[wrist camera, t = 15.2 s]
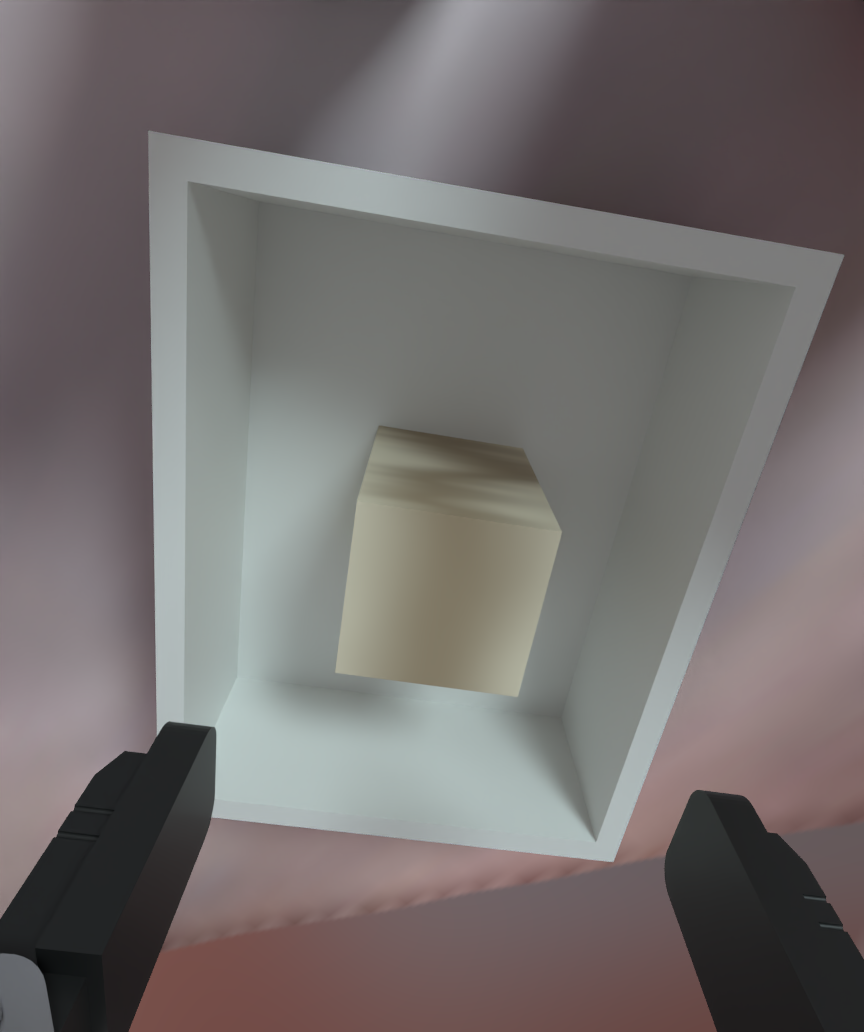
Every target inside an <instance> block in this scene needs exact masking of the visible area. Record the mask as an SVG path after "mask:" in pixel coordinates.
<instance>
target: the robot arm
mask: <svg viewBox="0 0 864 1032" xmlns="http://www.w3.org/2000/svg"><path fill="white" fill-rule="evenodd" d="M215 774H216V729H215V727H210V726H203V725H195V724H187V723H179V722H171V721H169V722H167V723H165V725H164V726H163V727H162V729H161V730H160V732H159V734H158V736H157V737H156V739H155V741H154V743H153V744H152V746H151V748H150V749H149V751H148V753H147V754H144V753H136V752H128V751H124V752H123V753H122V754H121V755H119V756H118V757H117V758H115V759H114V760H113V761H112V762H110V763H109V764H108V765H107V766H105V767H104V768H103V769H102V770H100V771H99V772H98V773H97V774H95V775H94V777H93V778H92V780H91V781H90V783H89V784H88V786H87V787H86V789H85V791H84V792H83V794H82V795H81V797H80V798H79V800H78V801H77V803H76V804H75V808H74V810H73V811H71V812H70V813H69V815H68V817H67V818H66V820H65V821H64V823H63V824H62V826H61V827H60V829H59V830H58V834H57V837H56V838H55V837H54V838H53V839H52V841H51V843H50V844H49V846H48V847H47V849H46V850H45V852H44V853H43V855H42V856H41V858H40V859H39V861H38V862H37V864H36V865H35V867H34V868H33V870H32V872H31V873H30V875H29V876H28V878H27V879H26V881H25V882H24V884H23V885H22V887H21V888H20V890H19V891H18V893H17V894H16V896H15V898H14V899H13V901H12V902H11V904H10V905H9V907H8V908H7V910H6V911H5V913H4V914H3V916H2V917H1V919H0V1032H128V1031H129V1029H130V1026H131V1023H132V1021H133V1019H134V1016H135V1014H136V1011H137V1009H138V1006H139V1003H140V1001H141V998H142V996H143V993H144V991H145V988H146V986H147V983H148V981H149V978H150V976H151V973H152V971H153V968H154V966H155V963H156V961H157V958H158V956H159V953H160V950H161V948H162V945H163V943H164V940H165V938H166V935H167V933H168V930H169V928H170V925H171V923H172V920H173V918H174V915H175V913H176V910H177V908H178V905H179V903H180V900H181V897H182V895H183V892H184V890H185V887H186V885H187V882H188V880H189V877H190V875H191V872H192V870H193V867H194V865H195V862H196V860H197V857H198V855H199V852H200V850H201V847H202V845H203V842H204V839H205V837H206V834H207V831H208V828H209V824H210V820H211V816H212V812H213V806H214V799H215ZM665 882H666V887H667V892H668V895H669V898H670V901H671V903H672V906H673V909H674V912H675V915H676V917H677V920H678V923H679V926H680V929H681V931H682V934H683V937H684V940H685V943H686V946H687V948H688V951H689V954H690V957H691V959H692V962H693V965H694V968H695V970H696V974H697V976H698V979H699V982H700V985H701V988H702V990H703V993H704V996H705V999H706V1001H707V1004H708V1007H709V1010H710V1013H711V1016H712V1018H713V1021H714V1024H715V1027H716V1029H717V1032H864V959H863V958H862V956H861V954H860V952H859V951H858V949H857V947H856V946H855V944H854V942H853V941H852V939H851V938H850V936H849V934H848V932H844V931H843V928H842V927H843V924H842V923H841V921H840V919H839V917H838V916H837V914H836V912H835V911H834V909H833V907H832V906H831V904H830V903H827V902H826V896H825V894H824V892H823V891H822V889H821V888H820V886H819V884H818V882H817V881H816V879H815V878H814V876H813V874H812V872H811V871H810V869H809V867H808V866H807V864H806V863H805V862H804V861H803V860H802V859H801V858H800V857H799V856H798V855H797V853H796V852H795V851H794V850H793V849H792V848H791V847H790V846H789V845H788V844H787V843H786V842H785V841H784V840H783V839H782V838H781V837H780V836H779V835H778V834H776V833H768V832H767V831H766V829H765V827H764V825H763V824H762V822H761V820H760V818H759V816H758V815H757V813H756V811H755V809H754V808H753V806H752V804H751V803H750V802H749V800H748V799H747V798H745V797H744V796H741V795H734V794H726V793H718V792H710V791H703V790H697V791H695V792H693V793H692V795H691V796H690V798H689V801H688V803H687V805H686V808H685V810H684V812H683V815H682V817H681V819H680V822H679V824H678V827H677V829H676V831H675V834H674V836H673V838H672V841H671V843H670V845H669V848H668V850H667V853H666V858H665Z"/></svg>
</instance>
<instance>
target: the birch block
mask: <svg viewBox="0 0 864 1032" xmlns="http://www.w3.org/2000/svg"><path fill="white" fill-rule="evenodd" d="M561 535H562V531H561V529H560V526H559V524H558V522H557V520H556V518H555V516H554V514H553V511H552V509H551V507H550V505H549V503H548V501H547V499H546V497H545V494H544V492H543V490H542V488H541V486H540V484H539V482H538V480H537V477H536V475H535V473H534V471H533V469H532V467H531V465H530V462H529V460H528V458H527V456H526V454H525V452H524V450H523V448H517V447H511V446H505V445H499V444H492V443H486V442H480V441H474V440H467V439H461V438H455V437H449V436H442V435H436V434H430V433H424V432H417V431H411V430H405V429H398V428H392V427H386V426H380V425H379V427H378V430H377V434H376V437H375V441H374V444H373V447H372V451H371V454H370V458H369V461H368V465H367V468H366V471H365V475H364V478H363V482H362V485H361V489H360V492H359V495H358V499H357V504H356V512H355V520H354V528H353V535H352V543H351V551H350V559H349V567H348V575H347V582H346V590H345V598H344V606H343V614H342V622H341V629H340V637H339V645H338V653H337V661H336V669H335V673H341V674H348V675H356V676H363V677H371V678H378V679H386V680H393V681H401V682H408V683H416V684H423V685H431V686H438V687H446V688H453V689H461V690H469V691H476V692H484V693H491V694H499V695H506V696H514V697H518V694H519V691H520V687H521V683H522V679H523V676H524V672H525V668H526V665H527V661H528V657H529V653H530V650H531V646H532V642H533V639H534V635H535V631H536V627H537V624H538V620H539V616H540V613H541V609H542V605H543V601H544V598H545V594H546V590H547V587H548V583H549V579H550V575H551V572H552V568H553V564H554V561H555V557H556V553H557V549H558V546H559V542H560V538H561Z"/></svg>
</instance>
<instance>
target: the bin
mask: <svg viewBox="0 0 864 1032" xmlns="http://www.w3.org/2000/svg"><path fill="white" fill-rule="evenodd" d="M148 166H149V233H150V301H151V369H152V437H153V505H154V572H155V640H156V708H157V736H158V734H159V732H160V730H161V729H162V727H163V726H164V725H165V723H167V722H169V721H171V722H179V723H187V724H195V725H203V726H210V727H215V729H216V774H215V799H214V806H213V812H212V816H211V817H213V818H222V819H231V820H240V821H249V822H258V823H267V824H276V825H285V826H294V827H303V828H312V829H321V830H330V831H339V832H348V833H357V834H366V835H374V836H383V837H392V838H401V839H410V840H419V841H428V842H437V843H446V844H455V845H464V846H473V847H482V848H491V849H500V850H509V851H518V852H527V853H536V854H545V855H554V856H563V857H572V858H581V859H590V860H599V861H608V862H613V861H614V859H615V856H616V854H617V851H618V848H619V846H620V843H621V840H622V838H623V835H624V833H625V830H626V827H627V825H628V822H629V819H630V817H631V814H632V812H633V809H634V806H635V804H636V801H637V798H638V796H639V793H640V791H641V788H642V785H643V783H644V780H645V777H646V775H647V772H648V770H649V767H650V764H651V762H652V759H653V756H654V754H655V751H656V749H657V746H658V743H659V741H660V738H661V735H662V733H663V730H664V728H665V725H666V722H667V720H668V717H669V714H670V712H671V709H672V707H673V704H674V701H675V699H676V696H677V693H678V691H679V688H680V685H681V683H682V680H683V678H684V675H685V672H686V670H687V667H688V664H689V662H690V659H691V657H692V654H693V651H694V649H695V646H696V643H697V641H698V638H699V636H700V633H701V630H702V628H703V625H704V622H705V620H706V617H707V615H708V612H709V609H710V607H711V604H712V601H713V599H714V596H715V594H716V591H717V588H718V586H719V583H720V580H721V578H722V575H723V573H724V570H725V567H726V565H727V562H728V559H729V557H730V554H731V552H732V549H733V546H734V544H735V541H736V538H737V536H738V533H739V531H740V528H741V525H742V523H743V520H744V517H745V515H746V512H747V510H748V507H749V504H750V502H751V499H752V496H753V494H754V491H755V489H756V486H757V483H758V481H759V478H760V475H761V473H762V470H763V468H764V465H765V462H766V460H767V457H768V454H769V452H770V449H771V447H772V444H773V441H774V439H775V436H776V433H777V431H778V428H779V426H780V423H781V420H782V418H783V415H784V412H785V410H786V407H787V405H788V402H789V399H790V397H791V394H792V391H793V389H794V386H795V384H796V381H797V378H798V376H799V373H800V370H801V368H802V365H803V363H804V360H805V357H806V355H807V352H808V349H809V347H810V344H811V342H812V339H813V336H814V334H815V331H816V328H817V326H818V323H819V321H820V318H821V315H822V313H823V310H824V307H825V305H826V302H827V300H828V297H829V294H830V292H831V289H832V286H833V284H834V281H835V279H836V276H837V273H838V271H839V268H840V265H841V263H842V260H843V258H844V255H843V254H838V253H832V252H826V251H821V250H815V249H810V248H804V247H798V246H793V245H787V244H782V243H776V242H770V241H765V240H759V239H754V238H748V237H742V236H737V235H731V234H726V233H720V232H714V231H709V230H703V229H698V228H692V227H686V226H681V225H675V224H670V223H664V222H658V221H653V220H647V219H642V218H636V217H630V216H625V215H619V214H614V213H608V212H602V211H597V210H591V209H586V208H580V207H574V206H569V205H563V204H558V203H552V202H546V201H541V200H535V199H530V198H524V197H518V196H513V195H507V194H502V193H496V192H490V191H485V190H479V189H474V188H468V187H462V186H457V185H451V184H446V183H440V182H434V181H429V180H423V179H418V178H412V177H406V176H401V175H395V174H390V173H384V172H378V171H373V170H367V169H362V168H356V167H350V166H345V165H339V164H334V163H328V162H322V161H317V160H311V159H306V158H300V157H294V156H289V155H283V154H278V153H272V152H266V151H261V150H255V149H250V148H244V147H238V146H233V145H227V144H222V143H216V142H210V141H205V140H199V139H194V138H188V137H182V136H177V135H171V134H166V133H160V132H154V131H149V130H148ZM379 425H380V426H386V427H392V428H398V429H405V430H411V431H417V432H424V433H430V434H436V435H442V436H449V437H455V438H461V439H467V440H474V441H480V442H486V443H492V444H499V445H505V446H511V447H517V448H523V450H524V452H525V454H526V456H527V458H528V460H529V462H530V465H531V467H532V469H533V471H534V473H535V475H536V477H537V480H538V482H539V484H540V486H541V488H542V490H543V492H544V494H545V497H546V499H547V501H548V503H549V505H550V507H551V509H552V511H553V514H554V516H555V518H556V520H557V522H558V524H559V526H560V529H561V531H562V535H561V538H560V542H559V546H558V549H557V553H556V557H555V561H554V564H553V568H552V572H551V575H550V579H549V583H548V587H547V590H546V594H545V598H544V601H543V605H542V609H541V613H540V616H539V620H538V624H537V627H536V631H535V635H534V639H533V642H532V646H531V650H530V653H529V657H528V661H527V665H526V668H525V672H524V676H523V679H522V683H521V687H520V691H519V694H518V697H514V696H506V695H499V694H491V693H484V692H476V691H469V690H461V689H453V688H446V687H438V686H431V685H423V684H416V683H408V682H401V681H393V680H386V679H378V678H371V677H363V676H356V675H348V674H341V673H335V669H336V661H337V653H338V645H339V637H340V629H341V622H342V614H343V606H344V598H345V590H346V582H347V575H348V567H349V559H350V551H351V543H352V535H353V528H354V520H355V512H356V504H357V499H358V495H359V492H360V489H361V485H362V482H363V478H364V475H365V471H366V468H367V465H368V461H369V458H370V454H371V451H372V447H373V444H374V441H375V437H376V434H377V430H378V427H379Z"/></svg>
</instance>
